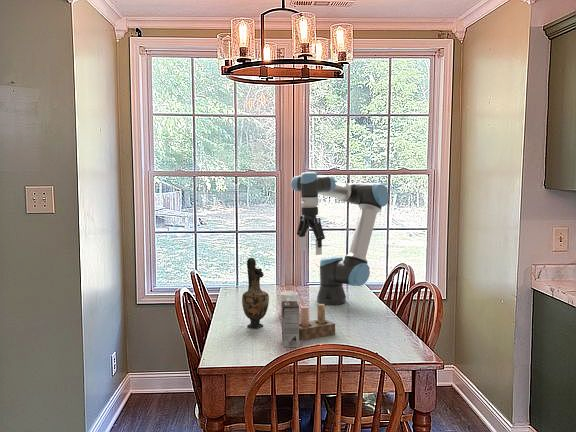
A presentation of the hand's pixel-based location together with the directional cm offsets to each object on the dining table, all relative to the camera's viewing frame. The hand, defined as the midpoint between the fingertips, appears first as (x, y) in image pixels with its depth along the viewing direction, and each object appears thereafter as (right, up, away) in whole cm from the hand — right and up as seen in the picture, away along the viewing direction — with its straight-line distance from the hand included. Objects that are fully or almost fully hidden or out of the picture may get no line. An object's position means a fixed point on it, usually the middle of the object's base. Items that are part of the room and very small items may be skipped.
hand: (310, 252), depth 251 cm
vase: (-25, -32, -9) cm, 42 cm away
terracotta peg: (-3, -33, -24) cm, 41 cm away
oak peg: (+4, -32, -20) cm, 38 cm away
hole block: (0, -33, -22) cm, 39 cm away
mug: (-10, -30, +8) cm, 33 cm away
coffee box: (-9, -34, -34) cm, 49 cm away
